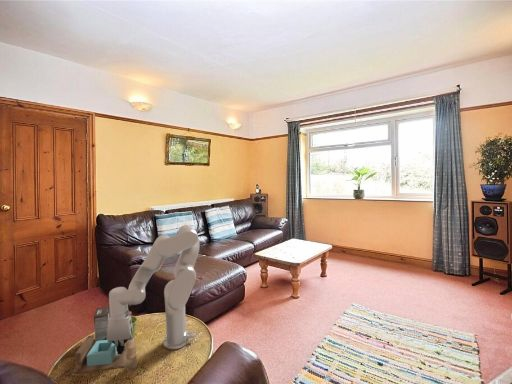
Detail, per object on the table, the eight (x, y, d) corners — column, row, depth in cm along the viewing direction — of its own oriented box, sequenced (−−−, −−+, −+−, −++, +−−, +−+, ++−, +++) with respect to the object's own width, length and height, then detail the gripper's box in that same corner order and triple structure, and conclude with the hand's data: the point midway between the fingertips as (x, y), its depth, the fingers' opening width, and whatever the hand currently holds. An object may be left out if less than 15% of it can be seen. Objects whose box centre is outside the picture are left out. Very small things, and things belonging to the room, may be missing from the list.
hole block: (119, 348, 125) (119, 338, 125) (111, 363, 115) (110, 353, 115) (97, 350, 124) (96, 340, 123) (87, 366, 114) (86, 355, 113)
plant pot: (139, 338, 134) (139, 322, 133) (119, 345, 129) (118, 328, 128) (136, 329, 142) (135, 314, 141) (117, 335, 136) (116, 319, 136)
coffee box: (98, 337, 135) (96, 307, 134) (112, 334, 138) (110, 305, 136) (95, 348, 127) (93, 317, 125) (110, 344, 129) (108, 314, 128)
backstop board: (135, 345, 128) (134, 330, 128) (125, 366, 115) (124, 349, 114) (89, 350, 125) (88, 334, 124) (73, 372, 111) (72, 355, 111)
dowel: (137, 363, 116) (136, 338, 115) (135, 370, 112) (133, 344, 111) (128, 364, 116) (127, 339, 115) (125, 371, 112) (124, 345, 111)
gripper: (138, 309, 124) (139, 345, 125) (105, 311, 122) (106, 348, 123) (133, 318, 116) (135, 356, 118) (98, 321, 114) (100, 359, 116)
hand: (120, 352), depth 120 cm, fingers closed
